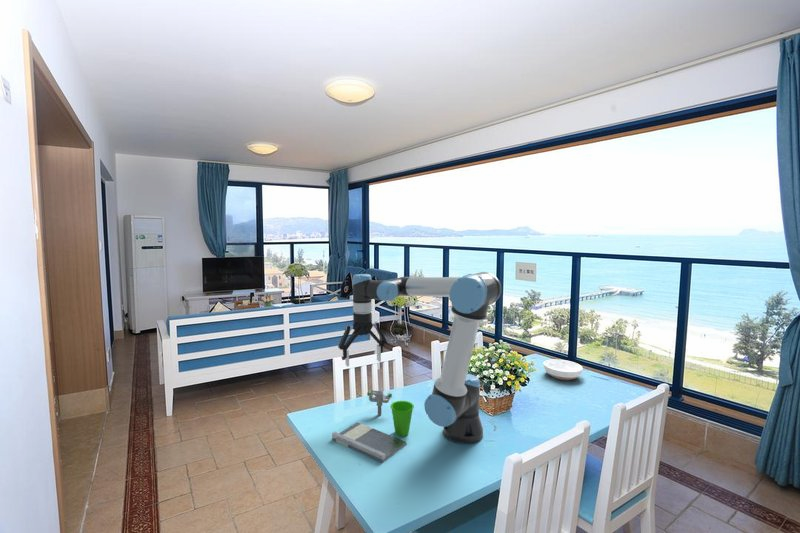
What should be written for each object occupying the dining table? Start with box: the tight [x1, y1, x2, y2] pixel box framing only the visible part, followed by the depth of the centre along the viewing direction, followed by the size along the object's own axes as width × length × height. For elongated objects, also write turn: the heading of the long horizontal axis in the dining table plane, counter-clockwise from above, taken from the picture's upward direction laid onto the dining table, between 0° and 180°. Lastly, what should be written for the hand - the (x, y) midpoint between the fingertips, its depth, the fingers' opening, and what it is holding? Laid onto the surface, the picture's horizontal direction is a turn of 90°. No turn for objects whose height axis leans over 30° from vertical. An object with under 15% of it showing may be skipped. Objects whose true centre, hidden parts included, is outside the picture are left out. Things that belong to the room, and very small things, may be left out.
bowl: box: [543, 358, 584, 381], centre depth 209 cm, size 20×20×6 cm
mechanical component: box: [366, 389, 393, 417], centre depth 164 cm, size 3×10×10 cm, turn 78°
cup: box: [390, 400, 415, 437], centre depth 150 cm, size 9×9×11 cm
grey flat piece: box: [331, 421, 407, 464], centre depth 144 cm, size 24×14×2 cm, turn 54°
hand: (363, 363), depth 160 cm, fingers open, 13 cm apart
